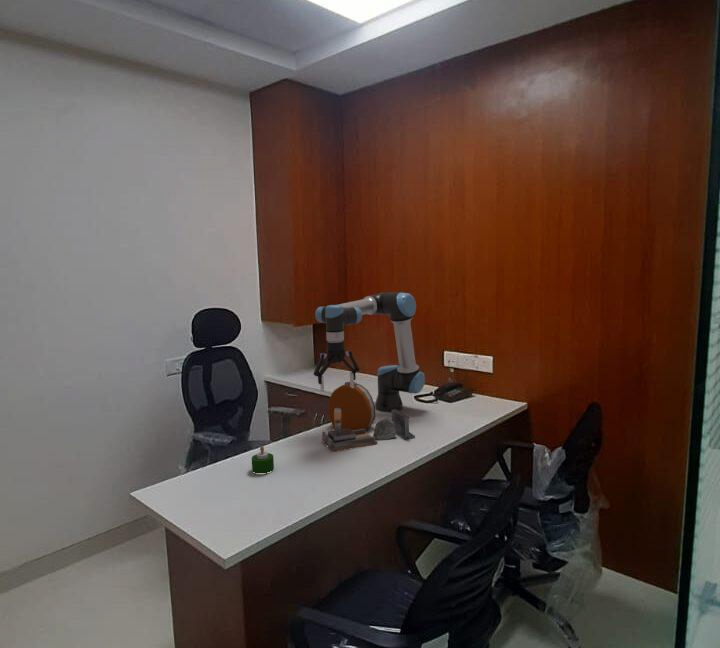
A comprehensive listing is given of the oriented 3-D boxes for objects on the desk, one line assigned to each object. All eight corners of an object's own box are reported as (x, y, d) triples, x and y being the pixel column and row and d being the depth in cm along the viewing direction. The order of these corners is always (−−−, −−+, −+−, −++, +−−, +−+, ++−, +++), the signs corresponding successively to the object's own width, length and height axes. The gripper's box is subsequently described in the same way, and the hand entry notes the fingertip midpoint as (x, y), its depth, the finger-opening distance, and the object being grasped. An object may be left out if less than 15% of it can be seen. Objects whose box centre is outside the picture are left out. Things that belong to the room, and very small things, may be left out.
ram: (328, 439, 217) (327, 407, 215) (349, 435, 220) (348, 404, 218) (334, 445, 209) (332, 412, 207) (355, 441, 212) (354, 409, 210)
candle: (263, 476, 183) (262, 451, 182) (247, 472, 187) (246, 447, 186) (278, 468, 190) (277, 444, 189) (262, 464, 194) (261, 440, 193)
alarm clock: (377, 426, 236) (376, 381, 233) (369, 433, 227) (368, 385, 225) (337, 421, 245) (336, 377, 243) (328, 427, 237) (326, 382, 234)
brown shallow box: (322, 440, 219) (321, 431, 218) (365, 434, 226) (365, 425, 225) (331, 451, 206) (331, 442, 205) (377, 444, 213) (377, 434, 212)
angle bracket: (392, 430, 231) (391, 409, 229) (401, 428, 232) (401, 408, 231) (405, 439, 218) (404, 418, 216) (415, 437, 219) (414, 416, 218)
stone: (385, 418, 215) (388, 411, 225) (368, 432, 218) (372, 424, 228) (399, 435, 215) (401, 427, 225) (382, 448, 218) (385, 439, 227)
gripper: (309, 345, 201) (311, 395, 203) (365, 339, 209) (367, 387, 212) (305, 342, 208) (307, 390, 210) (359, 337, 216) (361, 383, 219)
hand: (337, 389), depth 211 cm, fingers open, 13 cm apart
